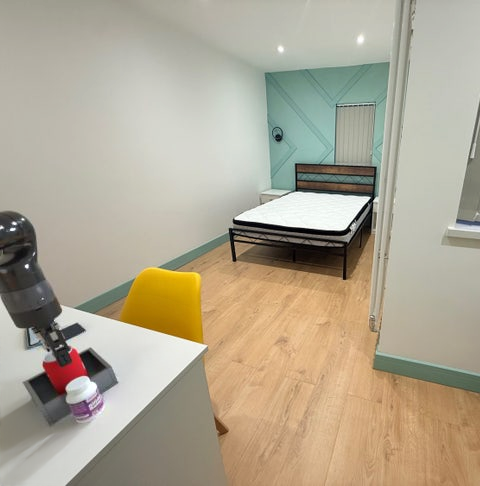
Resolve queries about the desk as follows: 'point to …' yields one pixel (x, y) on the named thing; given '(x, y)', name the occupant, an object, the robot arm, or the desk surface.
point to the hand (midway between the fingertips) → (60, 357)
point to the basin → (56, 405)
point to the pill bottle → (84, 399)
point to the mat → (72, 331)
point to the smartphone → (32, 339)
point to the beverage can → (63, 370)
